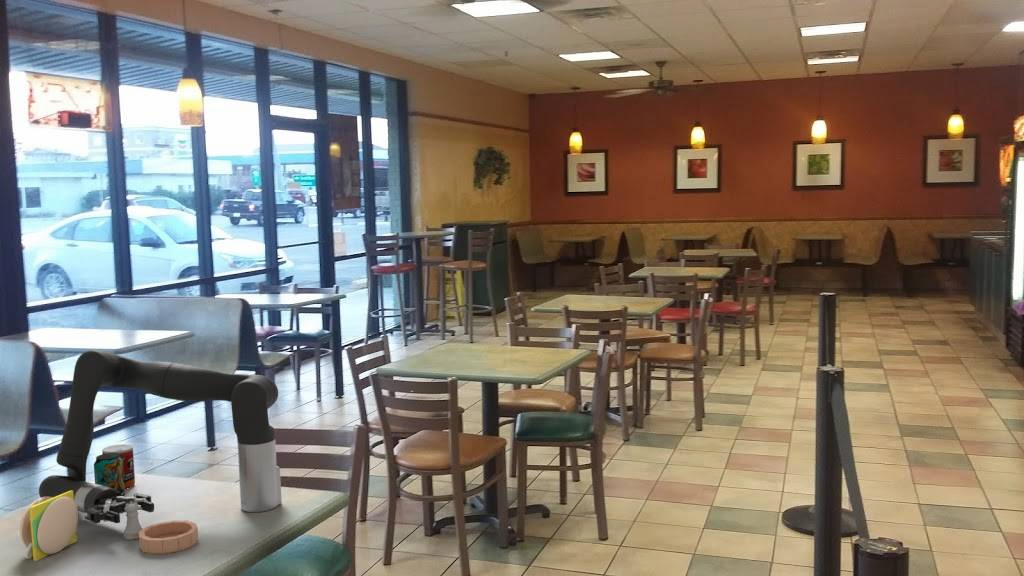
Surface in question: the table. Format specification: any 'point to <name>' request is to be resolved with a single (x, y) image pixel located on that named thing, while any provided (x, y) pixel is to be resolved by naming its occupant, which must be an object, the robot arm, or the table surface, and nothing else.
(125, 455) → the canned food
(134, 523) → the rook chess piece
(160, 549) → the dish
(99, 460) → the beverage can
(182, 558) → the table surface
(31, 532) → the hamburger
